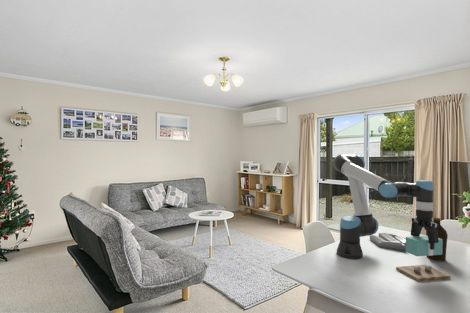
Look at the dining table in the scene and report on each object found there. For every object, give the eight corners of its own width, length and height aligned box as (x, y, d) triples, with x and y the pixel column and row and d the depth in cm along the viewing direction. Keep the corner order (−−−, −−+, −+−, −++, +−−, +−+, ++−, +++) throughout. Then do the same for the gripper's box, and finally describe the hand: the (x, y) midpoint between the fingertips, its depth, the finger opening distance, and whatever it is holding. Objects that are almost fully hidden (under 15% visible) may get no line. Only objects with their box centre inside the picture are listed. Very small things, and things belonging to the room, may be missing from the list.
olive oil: (441, 256, 169) (442, 216, 169) (450, 262, 159) (451, 220, 159) (422, 254, 172) (423, 215, 171) (430, 260, 161) (431, 219, 161)
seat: (418, 281, 134) (418, 273, 134) (396, 269, 148) (396, 262, 148) (450, 278, 138) (450, 270, 138) (426, 267, 152) (426, 260, 152)
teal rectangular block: (416, 256, 137) (417, 240, 137) (405, 251, 144) (405, 236, 144) (442, 254, 141) (442, 239, 141) (430, 249, 148) (430, 235, 148)
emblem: (424, 241, 184) (398, 246, 172) (424, 248, 184) (398, 254, 172) (386, 230, 209) (361, 234, 197) (386, 237, 209) (361, 241, 197)
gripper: (448, 213, 134) (448, 259, 134) (414, 205, 153) (413, 246, 153) (436, 213, 132) (435, 260, 132) (402, 206, 152) (402, 246, 152)
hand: (423, 252), depth 143 cm, fingers closed on teal rectangular block, 7 cm apart
